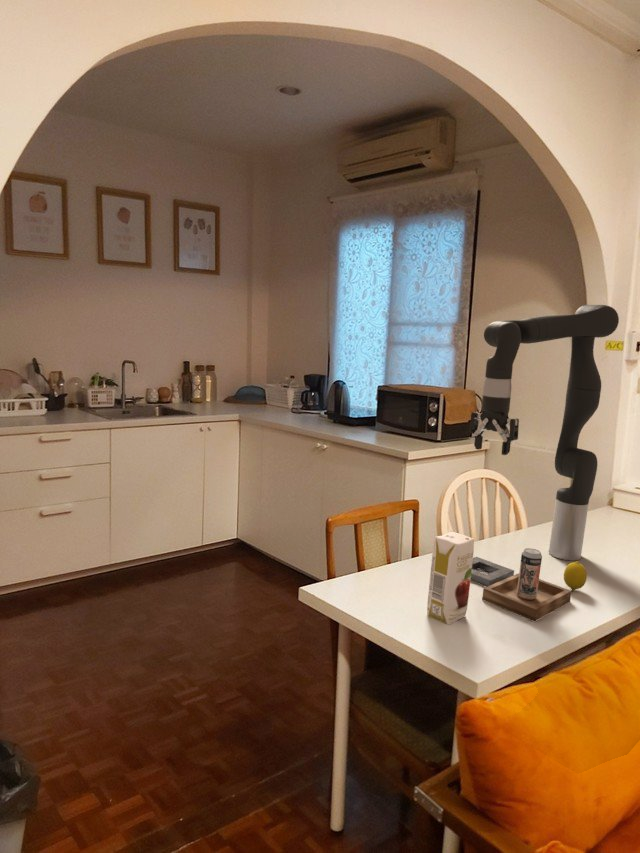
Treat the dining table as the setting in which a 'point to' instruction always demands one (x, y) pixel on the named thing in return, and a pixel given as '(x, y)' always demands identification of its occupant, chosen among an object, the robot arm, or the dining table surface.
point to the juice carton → (450, 577)
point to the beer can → (529, 574)
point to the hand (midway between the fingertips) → (491, 451)
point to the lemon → (575, 575)
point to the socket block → (494, 569)
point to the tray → (535, 609)
